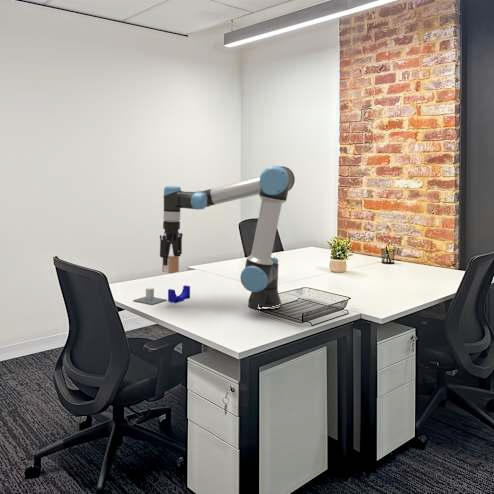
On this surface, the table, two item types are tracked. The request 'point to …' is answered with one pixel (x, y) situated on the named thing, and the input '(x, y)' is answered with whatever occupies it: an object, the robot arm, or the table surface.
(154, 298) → the stand
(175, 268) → the peach clay cube
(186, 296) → the blue arch bracket
